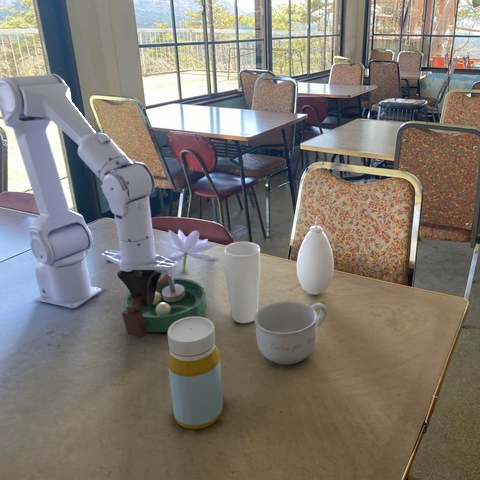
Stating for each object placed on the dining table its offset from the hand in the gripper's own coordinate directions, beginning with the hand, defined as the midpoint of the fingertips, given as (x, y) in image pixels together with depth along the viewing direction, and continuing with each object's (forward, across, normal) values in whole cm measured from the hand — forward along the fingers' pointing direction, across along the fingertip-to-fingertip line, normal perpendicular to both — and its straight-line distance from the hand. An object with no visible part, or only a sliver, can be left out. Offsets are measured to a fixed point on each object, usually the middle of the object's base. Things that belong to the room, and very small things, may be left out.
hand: (145, 303), depth 88 cm
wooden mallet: (+4, 0, +4) cm, 5 cm away
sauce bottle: (+6, +25, +24) cm, 35 cm away
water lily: (+6, -7, +27) cm, 29 cm away
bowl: (+6, 0, +6) cm, 8 cm away
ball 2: (+4, +1, +4) cm, 5 cm away
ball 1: (+4, -3, +7) cm, 9 cm away
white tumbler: (+6, +15, +10) cm, 19 cm away
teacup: (+6, +28, +3) cm, 29 cm away
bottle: (+6, +20, -16) cm, 26 cm away
